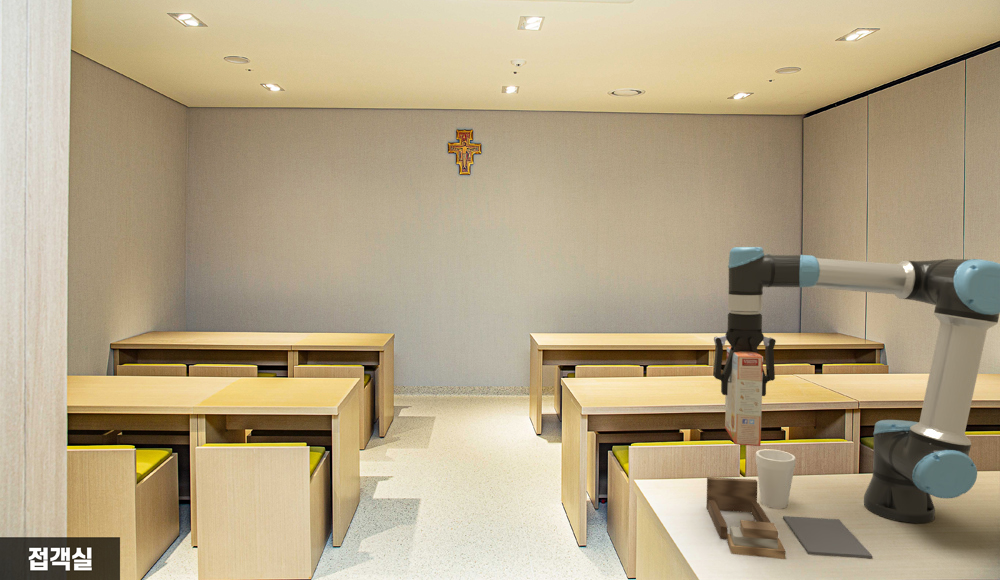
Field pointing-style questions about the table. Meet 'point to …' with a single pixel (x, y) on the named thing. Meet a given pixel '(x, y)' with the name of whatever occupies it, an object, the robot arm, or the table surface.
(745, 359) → the cracker box
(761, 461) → the foam cup
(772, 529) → the offcut stack
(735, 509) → the rack
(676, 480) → the table surface
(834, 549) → the mat
